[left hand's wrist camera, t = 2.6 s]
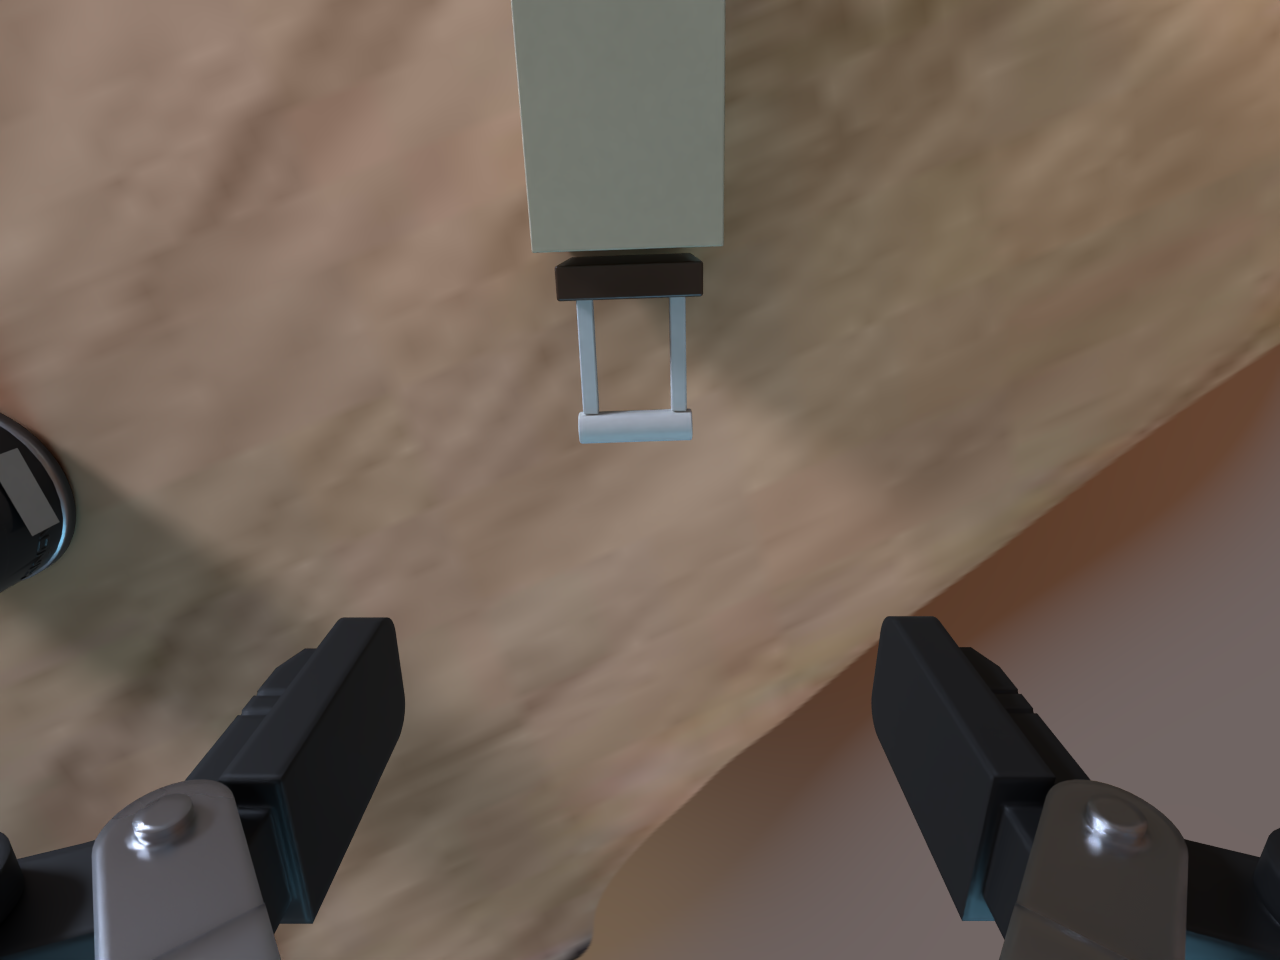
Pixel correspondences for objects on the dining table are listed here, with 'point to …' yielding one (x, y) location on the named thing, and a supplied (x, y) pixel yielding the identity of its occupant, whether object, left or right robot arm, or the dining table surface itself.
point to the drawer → (584, 285)
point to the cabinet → (622, 122)
